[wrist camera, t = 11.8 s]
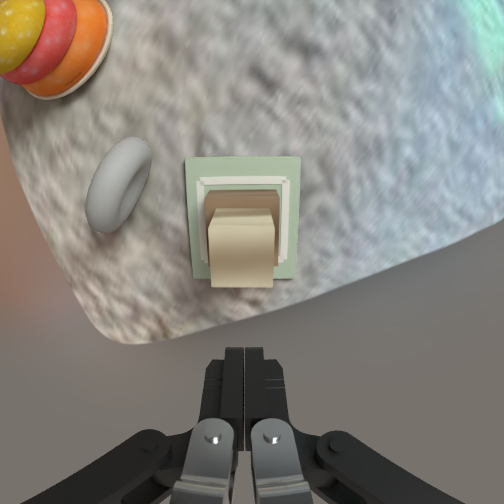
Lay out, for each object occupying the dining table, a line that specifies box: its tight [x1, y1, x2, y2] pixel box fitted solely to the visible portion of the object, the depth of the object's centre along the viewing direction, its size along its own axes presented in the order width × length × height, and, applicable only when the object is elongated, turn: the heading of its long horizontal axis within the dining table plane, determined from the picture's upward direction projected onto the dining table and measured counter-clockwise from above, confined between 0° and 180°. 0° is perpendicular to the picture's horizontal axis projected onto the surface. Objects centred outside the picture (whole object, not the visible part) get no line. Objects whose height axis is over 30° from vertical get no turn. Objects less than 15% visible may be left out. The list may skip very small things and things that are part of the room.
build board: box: [185, 156, 301, 279], centre depth 34 cm, size 14×12×1 cm
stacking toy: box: [0, 0, 113, 100], centre depth 16 cm, size 14×14×20 cm
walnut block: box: [205, 189, 280, 267], centre depth 31 cm, size 7×7×4 cm
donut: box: [85, 137, 152, 234], centre depth 27 cm, size 10×4×10 cm, turn 152°
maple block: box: [208, 208, 275, 287], centre depth 27 cm, size 5×5×6 cm
